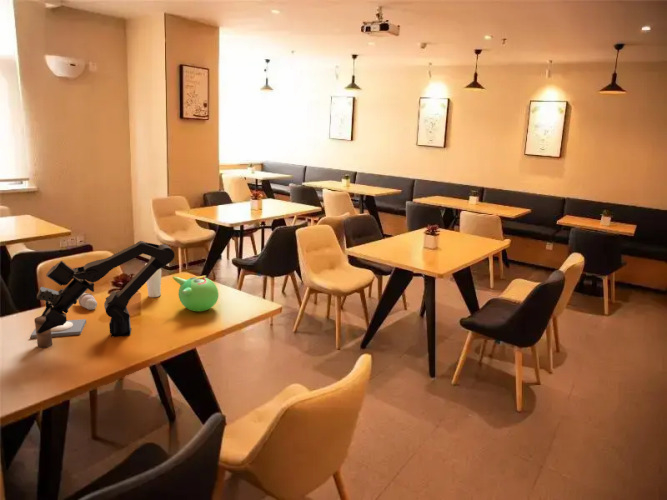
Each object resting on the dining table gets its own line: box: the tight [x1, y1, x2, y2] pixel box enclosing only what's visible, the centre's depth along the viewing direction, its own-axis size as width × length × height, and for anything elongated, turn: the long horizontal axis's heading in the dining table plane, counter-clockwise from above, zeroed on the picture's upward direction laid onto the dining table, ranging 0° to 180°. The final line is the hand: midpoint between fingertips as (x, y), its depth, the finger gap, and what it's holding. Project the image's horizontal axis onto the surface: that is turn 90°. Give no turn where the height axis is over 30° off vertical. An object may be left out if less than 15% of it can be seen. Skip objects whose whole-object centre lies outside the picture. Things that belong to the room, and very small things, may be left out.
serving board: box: [30, 318, 87, 339], centre depth 183 cm, size 16×12×2 cm
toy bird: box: [172, 275, 219, 312], centre depth 206 cm, size 18×17×15 cm
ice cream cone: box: [77, 292, 98, 311], centre depth 206 cm, size 6×6×15 cm
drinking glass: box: [144, 262, 162, 298], centre depth 220 cm, size 7×7×15 cm
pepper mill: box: [34, 315, 53, 349], centre depth 169 cm, size 4×4×10 cm
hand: (38, 327), depth 168 cm, fingers open, 9 cm apart
